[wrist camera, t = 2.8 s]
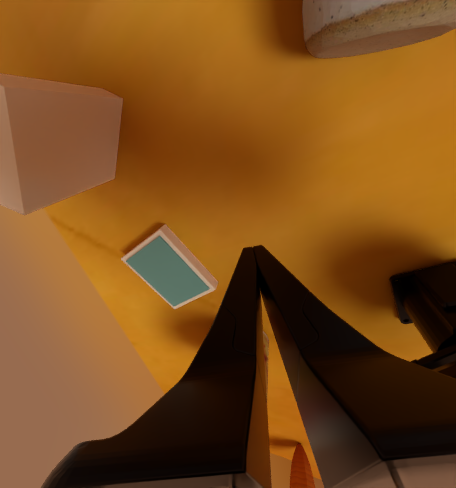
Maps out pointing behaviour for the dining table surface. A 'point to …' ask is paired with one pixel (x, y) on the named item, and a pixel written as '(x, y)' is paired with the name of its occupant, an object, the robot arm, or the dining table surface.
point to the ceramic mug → (372, 24)
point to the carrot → (301, 470)
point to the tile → (54, 140)
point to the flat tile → (170, 268)
